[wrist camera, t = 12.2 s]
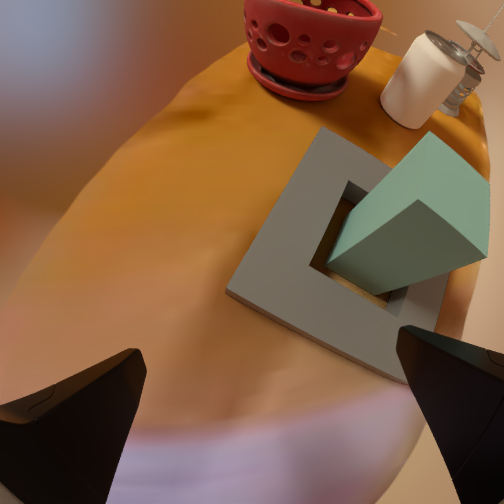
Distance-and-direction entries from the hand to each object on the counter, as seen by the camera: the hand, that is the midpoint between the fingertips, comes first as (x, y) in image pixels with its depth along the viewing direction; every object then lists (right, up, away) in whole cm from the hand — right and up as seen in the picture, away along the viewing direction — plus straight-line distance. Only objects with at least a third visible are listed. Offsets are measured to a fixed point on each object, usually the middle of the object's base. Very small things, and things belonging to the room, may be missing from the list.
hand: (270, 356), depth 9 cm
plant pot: (+4, +24, +19) cm, 31 cm away
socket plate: (+8, +3, +13) cm, 16 cm away
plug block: (+8, +3, +13) cm, 16 cm away
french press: (+29, +29, +23) cm, 47 cm away
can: (+18, +21, +20) cm, 34 cm away
